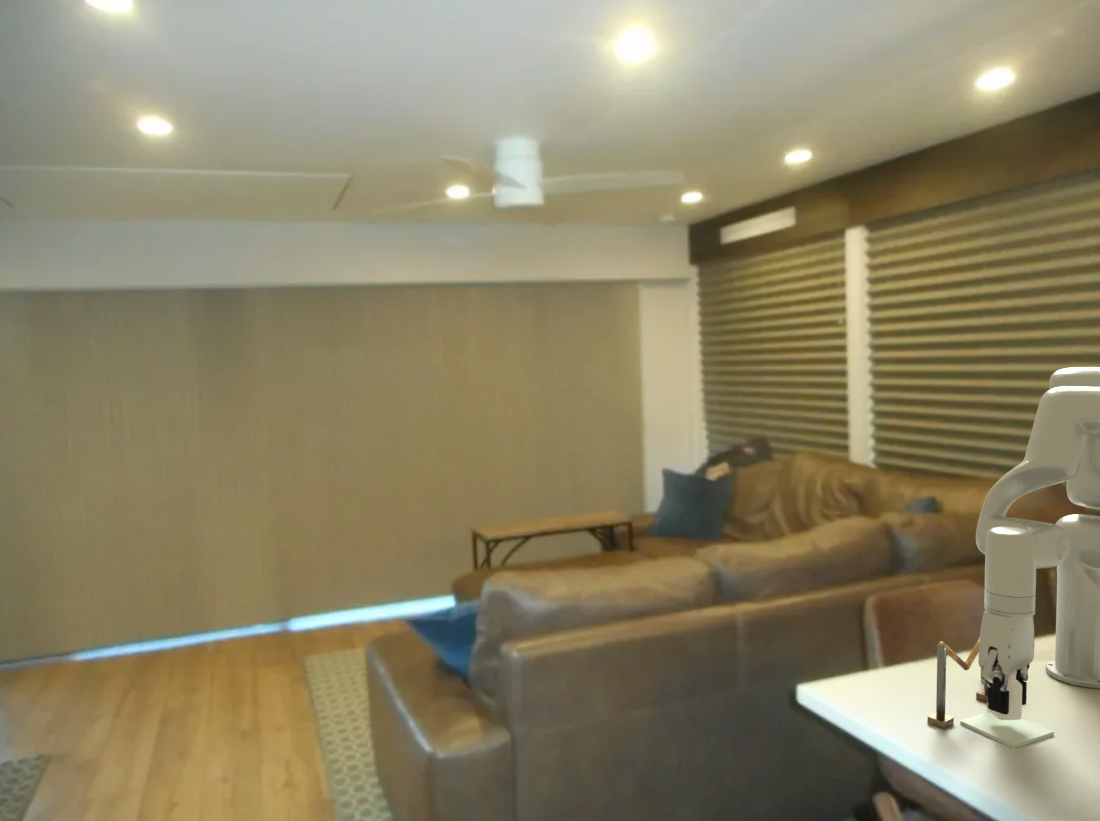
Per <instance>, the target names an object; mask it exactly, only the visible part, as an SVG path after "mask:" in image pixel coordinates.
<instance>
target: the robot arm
mask: <svg viewBox="0 0 1100 821" xmlns="http://www.w3.org/2000/svg"><path fill="white" fill-rule="evenodd" d="M1048 385H1049V387H1048V388H1049V390H1047V391H1045V393H1043V394H1042V396H1041V398H1040V399H1039V403H1038V407H1037V410H1036V414H1035V418H1034V422H1033V424H1032V429H1031V431H1030V435H1029V438H1028V443H1027V447H1026V451H1025V455H1024V458H1023V460H1022V461H1021V462H1020V463H1019V464H1018V465H1016V466H1014V467H1013V468H1012V469H1011V470H1009V471H1007V472H1006V473H1005V474H1004V475H1002V476H1001V477H1000V479H998V480H997V481H996V482H995V484H993V486H992V487H991V488H990V489H989V491H987V494H986V495H985V498H984V500H983V503H982V507H981V509H980V513H979V517H978V521H977V524H976V525H977V526H976V530H975V543H976V546H977V549H978V550H979V551H980V552H981V554H983V555H984V556H985V559H984V562H985V563H984V594H983V595H984V596H983V597H984V598H983V599H984V600H983V602H984V605H983V607H984V609H985V610H984V611H983V615H982V618H981V619H982V620H981V625H980V631H979V632H980V633H979V637H980V643H979V652H978V660H977V661H978V662H977V663H978V666H979V668H981V667H982V668H984V669H983V671H982V676H983V677H984V678H985V679H986V682H987V687H988V703H987V708H989V709H990V710H993V711H996V712H999V713H1002V714H1005V715H1006V714H1008V713H1009V691H1007V685H1008V679H1009V674H1010V673H1012V672H1014V671H1016V670H1017V674H1016V680H1017V681H1019V682H1020V683H1021V685H1022V706H1025V705H1027V693H1028V692H1027V691H1028V690H1027V687H1028V683H1027V681H1028V680H1029V672H1028V671H1029V669H1030V666H1031V665H1030V664H1032V662H1033V661H1034V657H1035V623H1034V616H1035V615H1036V597H1037V596H1036V595H1037V594H1036V591H1037V590H1036V588H1037V587H1036V586H1037V569H1048V568H1049V569H1050V568H1054V567H1055V568H1056V574H1057V576H1056V579H1057V581H1056V612H1055V613H1056V615H1055V616H1056V617H1055V619H1056V620H1055V621H1056V622H1055V650H1054V651H1055V655H1054V656H1055V658H1054V659H1052V660H1049V661H1047V662H1046V663H1045V671H1046V673H1047V674H1048V675H1050V676H1051V677H1052V678H1054V679H1056V680H1057V681H1060V682H1062V683H1063V682H1064V683H1066V684H1069V685H1074V686H1078V687H1083V688H1090V689H1100V515H1099V516H1098V515H1093V514H1092V515H1090V514H1081V513H1076V514H1068V515H1065V516H1063V517H1060V518H1059V519H1058V520H1057V521H1056V523H1050V522H1045V521H1038V520H1030V519H1024V518H1018V517H1011V516H1010V517H1009V516H1006V515H1007V513H1008V511H1009V509H1010V507H1011V505H1013V503H1015V502H1016V501H1017V500H1018V499H1019V498H1021V497H1023V496H1024V495H1027V494H1029V493H1031V492H1034V491H1037V490H1040V489H1043V488H1048V487H1050V486H1054V485H1057V484H1063V483H1065V482H1066V484H1065V486H1066V495H1067V498H1068V501H1070V502H1071V503H1072V504H1074V505H1077V506H1079V507H1083V508H1090V509H1095V510H1100V366H1099V367H1098V366H1077V367H1076V366H1075V367H1074V366H1073V367H1065V368H1061V369H1058V370H1056V371H1055V372H1054V373H1052V374H1051V375H1050V378H1049V384H1048ZM996 666H999V667H1002V670H998V669H996ZM995 673H997V674H1000V675H1002V680H1001V681H1000V679H999V678H998V677H996V676H995ZM989 709H988V710H989Z"/></svg>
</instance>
